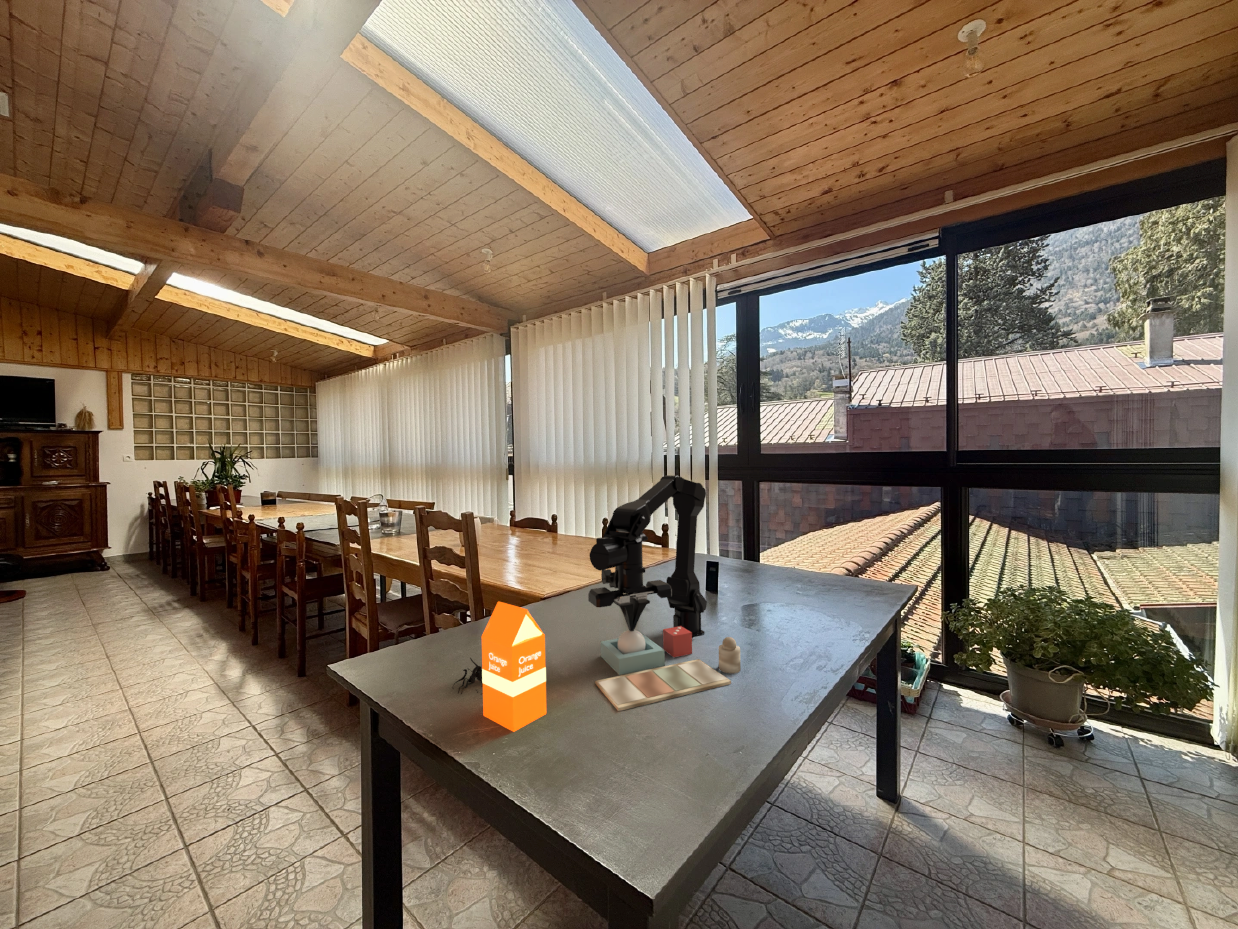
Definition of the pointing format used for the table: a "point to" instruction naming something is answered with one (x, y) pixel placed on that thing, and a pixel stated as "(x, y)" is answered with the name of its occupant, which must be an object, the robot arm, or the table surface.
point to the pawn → (729, 656)
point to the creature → (472, 676)
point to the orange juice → (513, 668)
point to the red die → (677, 641)
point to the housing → (632, 657)
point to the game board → (660, 684)
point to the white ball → (631, 642)
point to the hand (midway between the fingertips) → (631, 630)
